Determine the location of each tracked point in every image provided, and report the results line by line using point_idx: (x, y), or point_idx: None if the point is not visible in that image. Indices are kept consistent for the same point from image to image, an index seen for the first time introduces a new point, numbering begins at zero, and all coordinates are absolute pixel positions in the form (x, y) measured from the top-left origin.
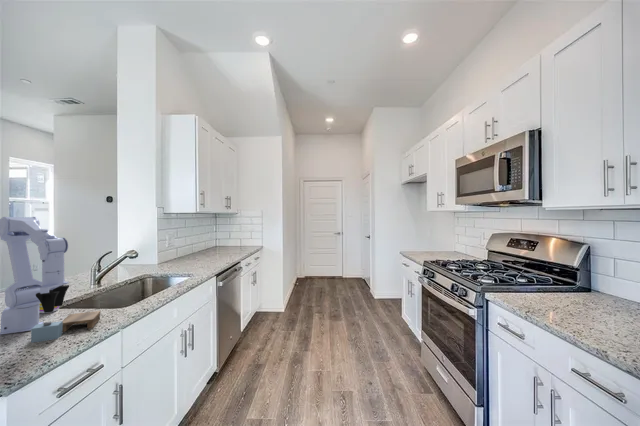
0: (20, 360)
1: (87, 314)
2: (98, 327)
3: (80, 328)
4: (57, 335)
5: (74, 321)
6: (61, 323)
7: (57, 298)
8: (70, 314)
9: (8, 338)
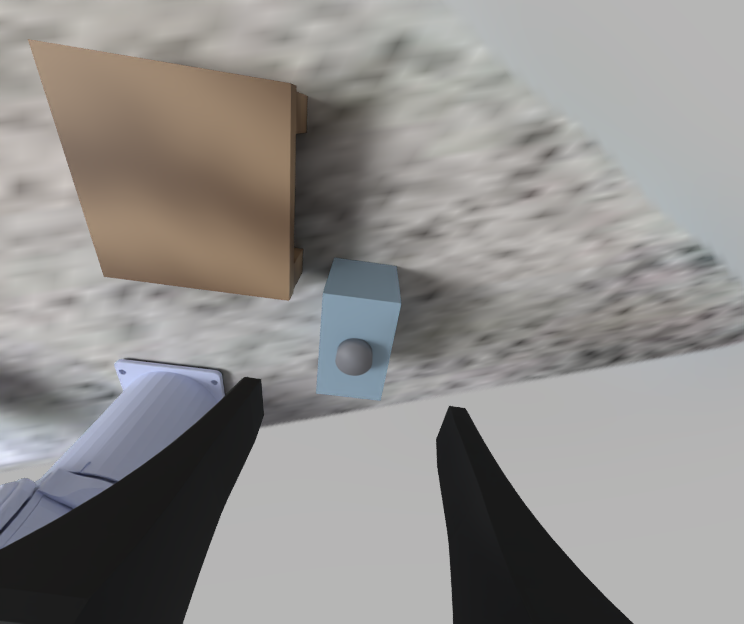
0: (568, 344)
1: (134, 153)
2: (311, 47)
3: None
4: (397, 275)
5: (287, 224)
6: (344, 291)
7: (224, 469)
8: (110, 271)
9: (282, 418)
